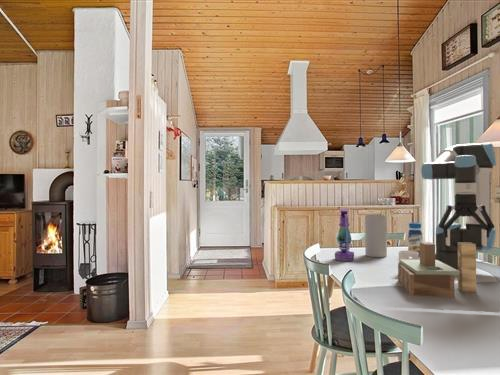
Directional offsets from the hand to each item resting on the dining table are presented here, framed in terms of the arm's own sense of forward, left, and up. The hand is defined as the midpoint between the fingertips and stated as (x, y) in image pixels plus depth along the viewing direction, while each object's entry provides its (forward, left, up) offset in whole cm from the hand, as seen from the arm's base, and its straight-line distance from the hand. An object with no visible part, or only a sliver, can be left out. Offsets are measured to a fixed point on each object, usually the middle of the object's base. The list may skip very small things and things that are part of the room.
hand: (465, 245), depth 153 cm
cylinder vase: (-76, -24, -19) cm, 82 cm away
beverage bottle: (-81, 0, -19) cm, 83 cm away
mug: (-26, -16, -19) cm, 36 cm away
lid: (-1, -15, -10) cm, 18 cm away
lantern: (-61, -44, -19) cm, 77 cm away
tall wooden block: (+1, 0, -19) cm, 19 cm away
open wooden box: (0, -16, -19) cm, 25 cm away
